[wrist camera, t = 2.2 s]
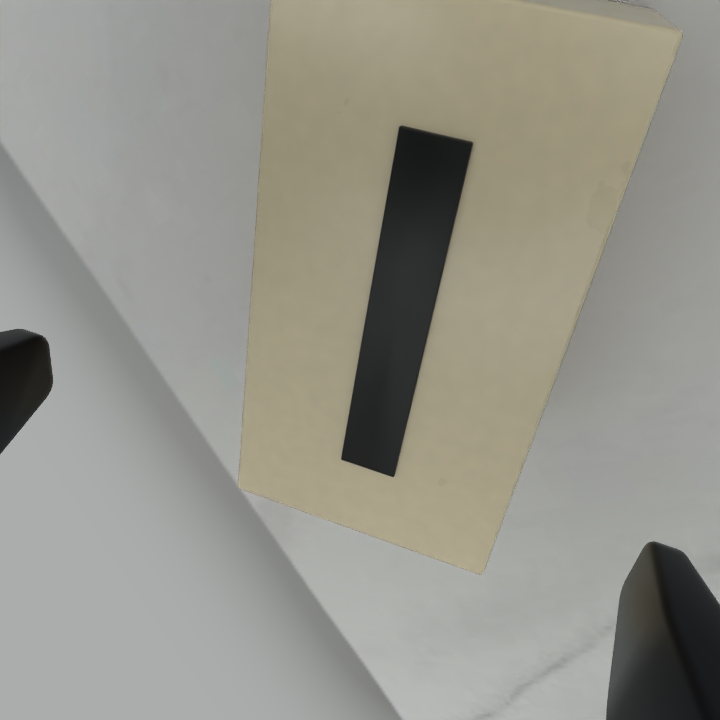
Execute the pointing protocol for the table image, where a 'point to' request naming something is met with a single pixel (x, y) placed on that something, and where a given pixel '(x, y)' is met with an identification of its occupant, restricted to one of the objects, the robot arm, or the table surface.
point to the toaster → (430, 247)
